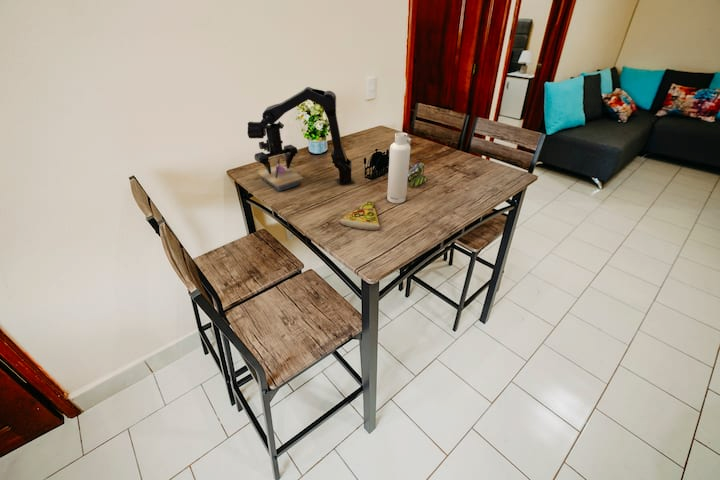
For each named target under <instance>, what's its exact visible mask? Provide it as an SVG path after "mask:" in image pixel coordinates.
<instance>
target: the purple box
mask: <svg viewBox="0 0 720 480" xmlns="http://www.w3.org/2000/svg"><path fill="white" fill-rule="evenodd" d="M280 160H281V159H280V156H278V159H277V162H276V165H277V167H276V178H277V174H278V172H279V173H284V172H285V168H283V167H282V166H279V165H280V164H281V163H280ZM285 173H286V172H285Z"/></svg>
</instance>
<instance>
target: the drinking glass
mask: <svg viewBox="0 0 720 480" xmlns="http://www.w3.org/2000/svg"><path fill="white" fill-rule="evenodd" d="M407 143H408V144H409V145H410V146H411V143H412V138H411V137H409V136H407Z"/></svg>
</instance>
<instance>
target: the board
mask: <svg viewBox="0 0 720 480" xmlns="http://www.w3.org/2000/svg"><path fill="white" fill-rule="evenodd" d="M279 166H282V167H283V168H285V172H286V173H285V172H284V173H279V172H278V174H277V178H276V167H277V164H276V165H272V166H270V168H271V175H270V174H269V173H268V171H267V169H266V167H265V168H262V169H259V170H256V173H257V174H258V175H259V176H261V177H262V178H263V177H264V178H265V179H266V180H268V181H269V182H271V183H272V184H273V185H275V186H276V187H278V188H279V187H282V186H285V185H288V184H291V183H294V182H297V181H299V182H300V181H303V180H304V177H303V176H301V175H300V174H298V173H297V172H295V171H293V170H292V169H291V168H289V169H287V166H285V165H284V164H282V163H280V165H279Z"/></svg>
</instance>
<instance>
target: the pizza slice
mask: <svg viewBox="0 0 720 480" xmlns="http://www.w3.org/2000/svg"><path fill="white" fill-rule="evenodd" d="M340 224H341V225H343V226H345V227H349V228H354V229H358V230H359V229H360V230H367V231H378V230H380V229H381V225H380V223H379V218H378V215H377V211H376V209H375V204H374V202H373V200H369V201H366V202H365V203H364V204H362V205H361V206H360V207H358V208H357V209H356V210H354V211H352V212H350V213H347V214H346V215H345V216H344V217H343V218H341V219H340Z"/></svg>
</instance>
